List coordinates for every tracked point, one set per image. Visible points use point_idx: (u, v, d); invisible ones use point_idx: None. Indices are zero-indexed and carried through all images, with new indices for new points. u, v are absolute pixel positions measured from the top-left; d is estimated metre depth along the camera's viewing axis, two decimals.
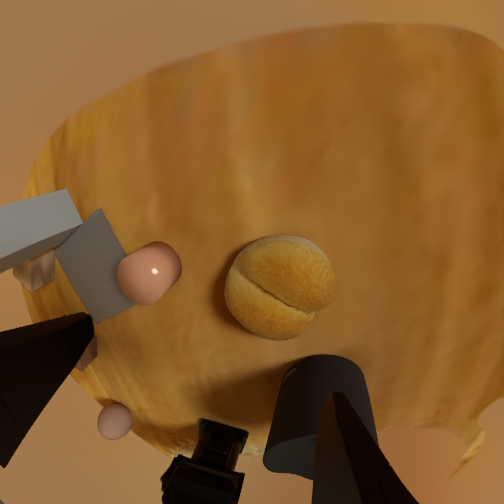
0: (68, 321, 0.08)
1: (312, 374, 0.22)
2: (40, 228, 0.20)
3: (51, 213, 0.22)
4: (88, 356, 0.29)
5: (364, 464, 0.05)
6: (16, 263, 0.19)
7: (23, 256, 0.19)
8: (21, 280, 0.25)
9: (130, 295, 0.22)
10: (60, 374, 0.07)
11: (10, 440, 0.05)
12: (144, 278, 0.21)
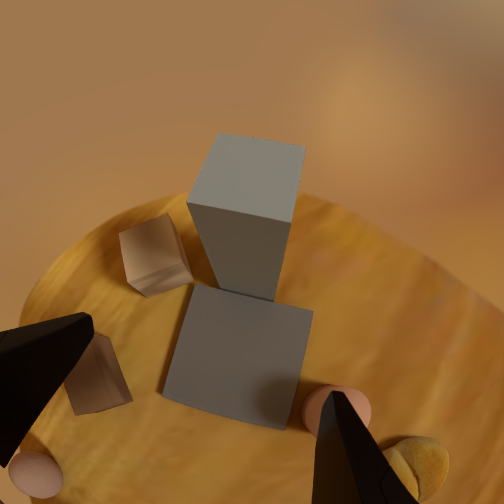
0: (68, 321, 0.08)
1: None
2: None
3: None
4: (100, 409, 0.17)
5: (364, 464, 0.05)
6: (215, 253, 0.16)
7: (236, 261, 0.16)
8: (127, 254, 0.20)
9: (315, 424, 0.15)
10: (60, 374, 0.07)
11: (10, 441, 0.05)
12: None
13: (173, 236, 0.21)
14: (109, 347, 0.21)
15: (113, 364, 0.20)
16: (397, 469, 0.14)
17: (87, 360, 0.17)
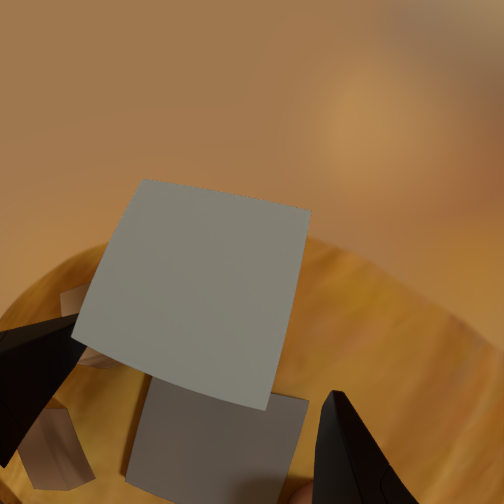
0: (68, 321, 0.08)
1: None
2: None
3: None
4: None
5: (364, 464, 0.05)
6: None
7: None
8: None
9: None
10: (60, 374, 0.07)
11: (10, 441, 0.05)
12: None
13: None
14: (65, 420, 0.14)
15: (70, 441, 0.13)
16: None
17: (39, 440, 0.10)
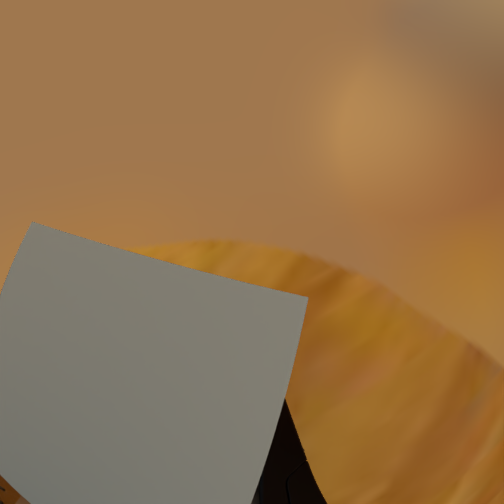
0: None
1: None
2: None
3: None
4: None
5: (274, 455, 0.05)
6: None
7: None
8: None
9: None
10: None
11: None
12: None
13: None
14: None
15: None
16: None
17: None
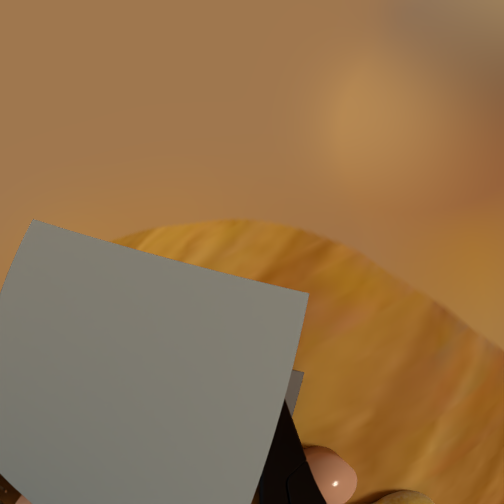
0: None
1: None
2: None
3: None
4: None
5: (274, 455, 0.05)
6: None
7: None
8: None
9: None
10: None
11: None
12: (336, 489, 0.12)
13: None
14: None
15: None
16: None
17: None
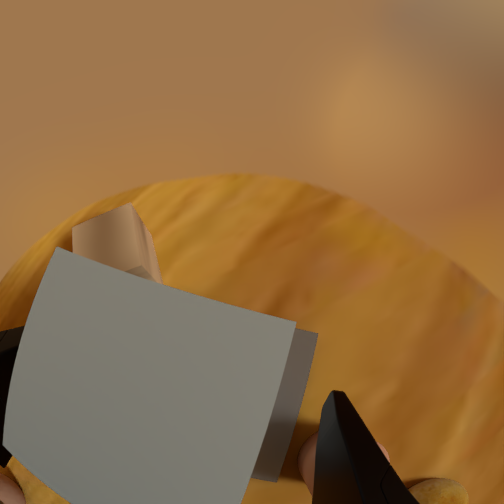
0: None
1: None
2: None
3: None
4: None
5: (364, 464, 0.05)
6: None
7: None
8: (78, 253, 0.15)
9: None
10: None
11: None
12: None
13: (134, 232, 0.15)
14: None
15: None
16: None
17: None
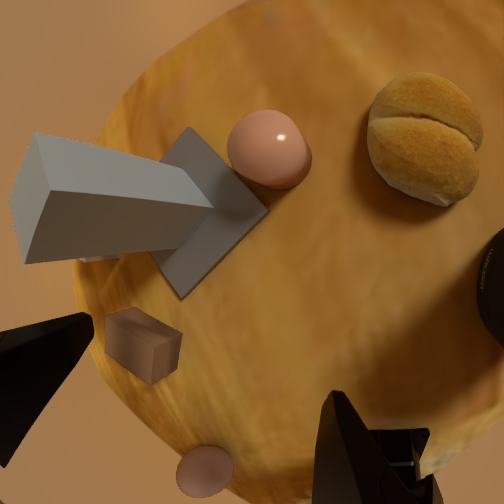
0: (68, 321, 0.08)
1: None
2: (156, 188, 0.15)
3: (169, 181, 0.17)
4: (165, 364, 0.22)
5: (364, 464, 0.05)
6: (104, 248, 0.14)
7: (120, 233, 0.14)
8: None
9: (249, 171, 0.16)
10: (60, 374, 0.07)
11: (10, 441, 0.05)
12: (271, 133, 0.15)
13: None
14: (136, 312, 0.24)
15: (145, 321, 0.23)
16: (390, 129, 0.13)
17: (121, 334, 0.21)
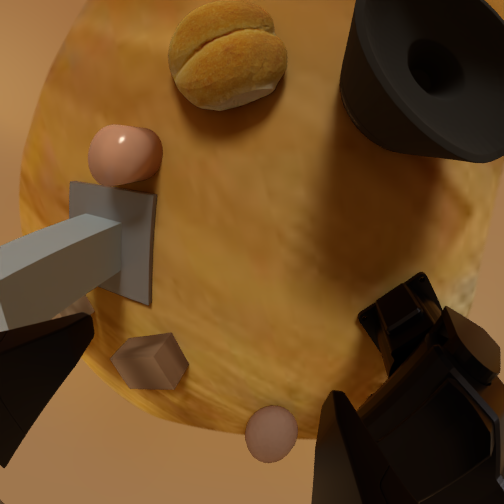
0: (68, 321, 0.08)
1: None
2: (66, 238, 0.17)
3: (76, 227, 0.19)
4: (174, 365, 0.24)
5: (364, 464, 0.05)
6: (61, 303, 0.16)
7: (63, 285, 0.16)
8: None
9: (114, 180, 0.17)
10: (60, 374, 0.07)
11: (10, 441, 0.05)
12: (111, 143, 0.16)
13: None
14: (131, 341, 0.26)
15: (140, 342, 0.25)
16: (186, 74, 0.15)
17: (128, 364, 0.23)
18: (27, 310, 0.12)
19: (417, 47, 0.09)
